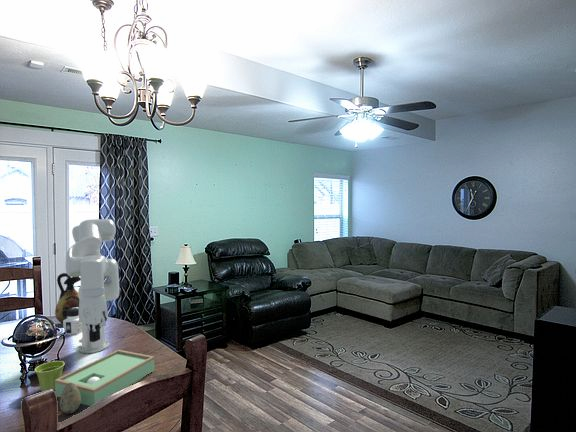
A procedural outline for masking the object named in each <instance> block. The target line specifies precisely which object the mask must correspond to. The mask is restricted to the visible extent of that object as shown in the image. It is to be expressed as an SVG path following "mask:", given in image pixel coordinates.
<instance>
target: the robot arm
mask: <svg viewBox="0 0 576 432" xmlns="http://www.w3.org/2000/svg"><path fill="white" fill-rule="evenodd" d="M116 232H117V228H116V224H115V222H114V221H113V220H112V219H110V218H100V219H99V218H98V219H94V218H93V219H86V220H83V221H81V222H80V224H79V225H76V226H73V228H72V233H71V234H72V238H73V241H74V244H73V245H72V246H70V247H69V249H68V250H67V251H66V255H65V267H64V269H65V273H67V274H68V275H69V276H71V277H78V276H79V277H80V278H81V280H80V286H79V288H78V290H77V292H78V295H79V300H80V301H79V321H80V322H81V323H82V332H81V333H82V337H81V339H79V340H78V343H79V344H80V343H81V346H79V348H78V349H79V352H80V353H82V354H93V353H97V352H98V353H99V352H101V351H104V350H106V349H107V348H109V346H110V343H109V341H108V340H107V341H106V326H107V321H108V317H109V316H108V315H109V313H108V305H107V302H109V301H115V300H117V299H118V298H119V296H120V276H119V265H118V261H117V260H115V259H114V258H106V256H105V255H102V254H101V247H102V245H103V243H104V242H111V241H114V238H115V236H116ZM102 242H103V243H102ZM106 279H107V280H106ZM105 280H106V281H105Z"/></svg>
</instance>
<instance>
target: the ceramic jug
mask: <svg viewBox="0 0 576 432" xmlns="http://www.w3.org/2000/svg"><path fill="white" fill-rule="evenodd" d="M65 277H66V278H67V279H66V280H64V282H63V283H62V282H61V279H62V278H65ZM56 282H57V286H58V287H59V290H60V294H59V299H58V301H57V303H56V306H55V308H54V310H55V311H54V316H55V318H56V320H57V321H58V322H59V323H61V327H63V320H65V319H67V310H68V309H70V308H75V307H78V308H79V301H80V300H79V295H78V290H76V288H75V286H74V285H75V284H76V283H78V282H81V277H80V276H78V277H71V276H69V275H68V274H67V273H66V272H62V273H60V274H58V275H57V279H56ZM62 284H63V285H66V288H65V289H64V287H63V285H62Z"/></svg>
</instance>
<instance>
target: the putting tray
mask: <svg viewBox="0 0 576 432" xmlns="http://www.w3.org/2000/svg"><path fill="white" fill-rule="evenodd" d="M155 363H156V362H155V356H153V355H147V354H143V353H138V352H137V353H136V352H133V351H127V350H122V349H117V350H115V351H113V352H111V353H109V354H107V355H105V356H102V357H100V358H98V359H96V360H94V361H92V362H90V363H87V364H86V365H83V366H81V367H79V368H78V369H75V370H73V371H71V372H69V373H67V374H64V375H62V377H60V378H58V379H56V380H55V390H54V394H55V396H56V395H57V396H56V397H57V398H60V397H59V396H61V394H62V391H63V389H64V387H65V386H66V385H67V384H68V383H74V384H75V385H76V386H77V388H78V390H79V392H80V396H81V403H80V405H81V404H82V405H85V406H89V407H92V406H91V405H93V404H95V403H96V402H98V401H100V400H102V399H104V398H106V397H107V396H109V395H111V394H113V393H115V392H117V391H119V390H121V389H123V388H126V387H128V386H129V387H131V386H132V383H133V385H134V384H136V383H138V382H139V381H140V380H142V379H144V378H145V377H144V376H146V375H147V374H149V373H151V372H152V373H154V372H155V371H156V367H155V366H156V365H155ZM153 371H154V372H153ZM152 373H151V374H152ZM149 375H150V374H149ZM147 376H148V375H147ZM147 376H146V377H147ZM92 377H98V378H100V379H99V380H97V381H95V382H93V383H92V384H87V381H88V380H89V379H90V378H92ZM143 377H144V378H143ZM141 378H142V379H141ZM130 384H131V386H130ZM129 387H128V388H129ZM126 389H127V388H126Z"/></svg>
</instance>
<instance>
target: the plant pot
mask: <svg viewBox="0 0 576 432" xmlns="http://www.w3.org/2000/svg"><path fill="white" fill-rule="evenodd" d="M65 365H66V364H65V362H64V361H62V360H54V361H49V362H48V361H47V362H45V363H42V364H39V365H38V366H36V367H35V368H34V372H35V373H36V375H37V378H38V379H37V380H38V382H39V383H38V384H39V387H40V391H41V392H42V391H45V390H49V389H53V391H55V380H56V379H58V378H60V377H62V376H63V369H64V366H65Z"/></svg>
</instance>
